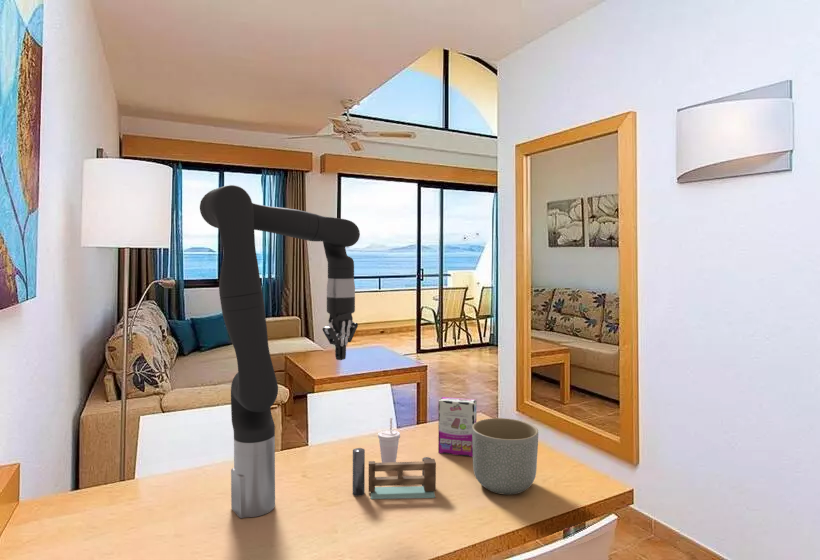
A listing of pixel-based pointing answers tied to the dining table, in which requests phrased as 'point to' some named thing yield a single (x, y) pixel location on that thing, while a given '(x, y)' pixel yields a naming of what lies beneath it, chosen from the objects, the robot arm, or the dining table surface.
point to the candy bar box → (456, 426)
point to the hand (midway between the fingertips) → (340, 359)
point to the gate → (426, 480)
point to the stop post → (423, 460)
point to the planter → (504, 454)
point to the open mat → (401, 492)
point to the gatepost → (358, 472)
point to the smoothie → (389, 444)
